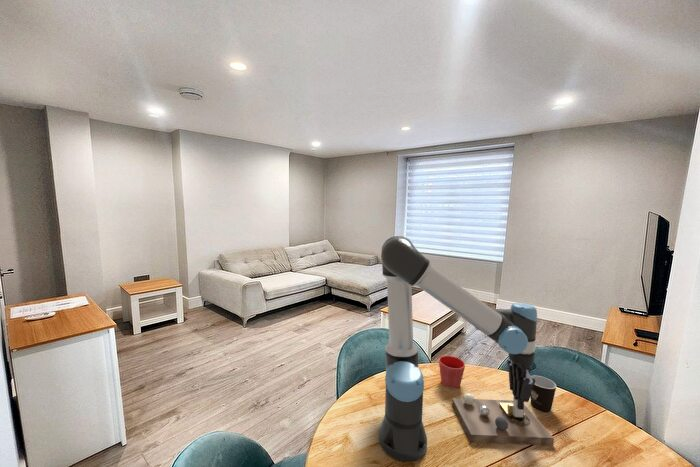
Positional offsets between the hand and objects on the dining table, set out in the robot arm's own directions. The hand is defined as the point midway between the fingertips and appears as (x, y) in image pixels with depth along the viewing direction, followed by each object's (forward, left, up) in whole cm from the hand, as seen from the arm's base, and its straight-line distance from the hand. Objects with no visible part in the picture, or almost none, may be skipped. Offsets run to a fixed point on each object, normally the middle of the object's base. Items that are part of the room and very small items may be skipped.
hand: (517, 415), depth 98 cm
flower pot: (-15, +24, -4) cm, 29 cm away
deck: (-6, +1, -4) cm, 7 cm away
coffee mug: (+15, +12, -4) cm, 20 cm away
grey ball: (-8, -5, +1) cm, 10 cm away
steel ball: (-11, +1, 0) cm, 11 cm away
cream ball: (-14, +7, +1) cm, 16 cm away
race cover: (0, +4, -1) cm, 4 cm away
